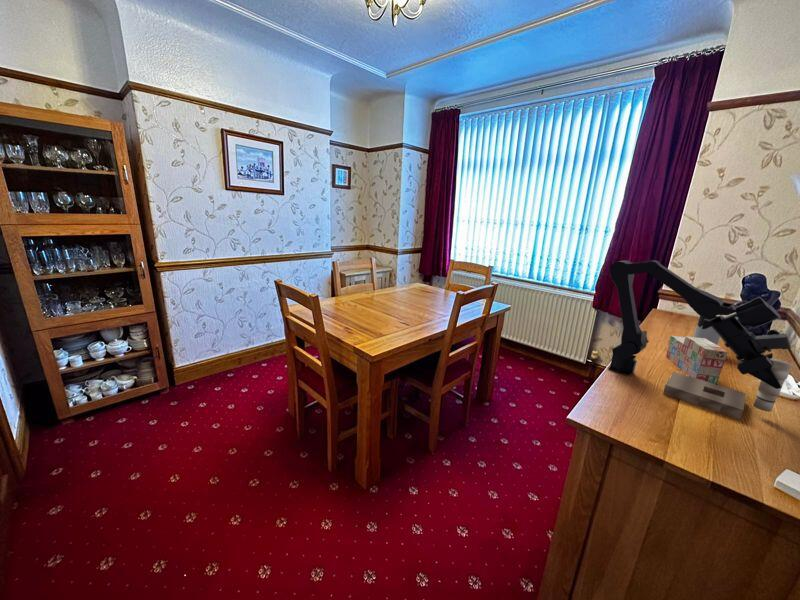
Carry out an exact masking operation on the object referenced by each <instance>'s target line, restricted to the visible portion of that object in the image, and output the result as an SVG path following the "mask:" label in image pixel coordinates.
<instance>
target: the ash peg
mask: <svg viewBox="0 0 800 600" xmlns="http://www.w3.org/2000/svg"><path fill="white" fill-rule="evenodd" d="M770 361H773V366H772V368H771V370H772V372H773V373H774V375H775V377H776V378H777V380H778V382H779V383H780V385H781V388H779V389H776V388H774V387H772V386H770V385H769V384H767V383H765V382H763V381H761V380H760V383H759V385H758V388H757V390H758V392H757V394H756V395H755V396H756V397H755V401H754V403H753V407H754V408H756V409H758V410H761V411H763V412H772V410H773V407H774V405H775V403H776V400H777V397H778V396H780V393H781V391H782V389H783V387H784V383H785V381H786V380H787V379H788V377H789V374H790V371H791V369H792V366H793V365H792V363H790V362H789V361H788V362H787V361H784V360H781V359H777V358H772V359H770Z"/></svg>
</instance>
